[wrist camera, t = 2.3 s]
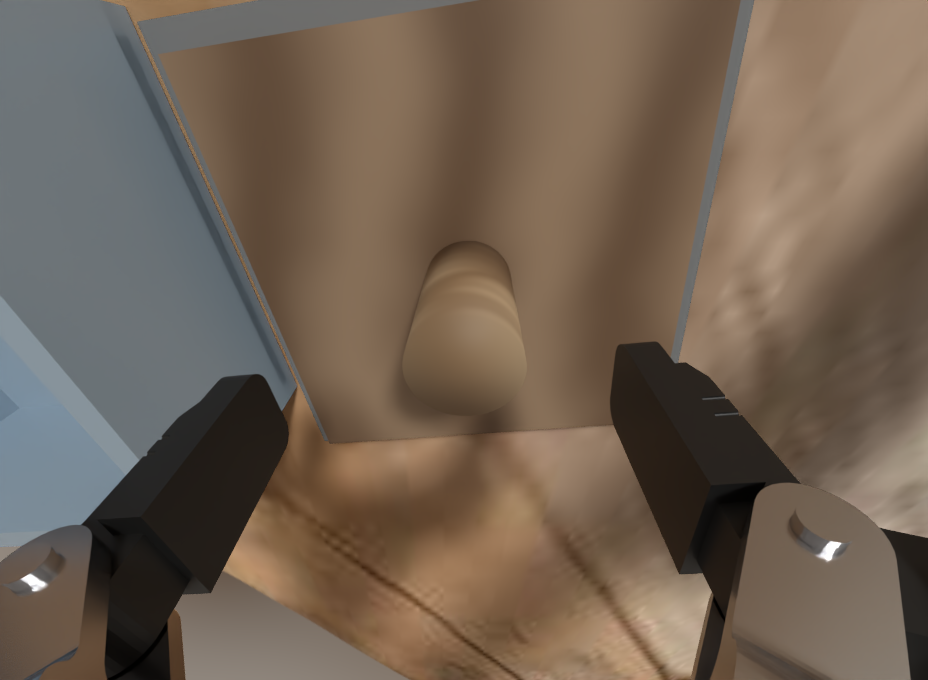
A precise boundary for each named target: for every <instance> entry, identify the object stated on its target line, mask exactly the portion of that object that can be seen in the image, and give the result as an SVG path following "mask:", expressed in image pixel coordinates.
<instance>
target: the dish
mask: <svg viewBox="0 0 928 680" xmlns="http://www.w3.org/2000/svg"><path fill="white" fill-rule="evenodd" d="M249 374H260V375H262V376H263V377H264V378H265V379H266V380H267V382H268V384H269V386H270V388H271V390H272V392H273V395H274V397H275V399H276V401H277V403H278V405H279V407H280V409H281V411H282V410H283V409H284V407H285V405H286V404H287V402H288V400H289V399H290V397H291V396H292V394H293V392H294V391H295V389H296V387H297V385H296V382H295V380H294V378H293V376H292V374H291V371H290V369H289V367H288V365H287V363H286V360H285V358H284V356H283V354H282V352H281V349H280V347H279V345H278V343H277V341H276V338H275V336H274V334H273V332H272V329H271V327H270V325H269V323H268V321H267V318H266V316H265V314H264V312H263V310H262V307H261V305H260V303H259V301H258V299H257V296H256V294H255V292H254V290H253V288H252V285H251V283H250V281H249V279H248V277H247V274H246V272H245V270H244V268H243V266H242V263H241V261H240V259H239V257H238V255H237V252H236V250H235V248H234V246H233V244H232V241H231V239H230V237H229V235H228V233H227V230H226V228H225V226H224V224H223V222H222V219H221V217H220V215H219V213H218V211H217V208H216V206H215V204H214V202H213V199H212V197H211V195H210V193H209V191H208V188H207V186H206V184H205V182H204V180H203V177H202V175H201V173H200V171H199V169H198V166H197V164H196V162H195V160H194V158H193V155H192V153H191V151H190V149H189V147H188V144H187V142H186V140H185V138H184V136H183V133H182V131H181V129H180V127H179V125H178V122H177V120H176V118H175V116H174V114H173V111H172V109H171V107H170V105H169V103H168V100H167V98H166V96H165V94H164V92H163V89H162V87H161V85H160V83H159V81H158V78H157V76H156V74H155V72H154V70H153V67H152V65H151V63H150V61H149V58H148V56H147V54H146V52H145V50H144V47H143V45H142V43H141V41H140V39H139V36H138V34H137V32H136V30H135V28H134V25H133V23H132V21H131V19H130V17H129V14H128V12H127V10H126V8H125V6H122V5H118V4H114V3H109V2H105V1H101V0H0V547H7V546H8V547H9V546H23V545H24V544H26V543H28V542H29V541H31V540H33V539H35V538H37V537H38V536H40V535H42V534H45V533H47V532H49V531H52V530H54V529H57V528H60V527H64V526H69V525H81V524H82V523H83V522H84V521H85V520H86V519H87V518H88V517H89V516H90V515H91V513H92V512H93V511H94V510H95V509H96V508H97V507H98V506H99V505H100V503H101V502H102V501H103V500H104V499H105V498H106V497H107V496H108V495H109V493H110V492H111V491H112V490H113V489H114V488H115V487H116V486H117V485H118V484H119V482H120V481H121V480H122V479H123V478H124V477H125V476H126V475H127V474H128V472H129V471H130V470H131V469H132V468H133V467H134V466H135V465H136V464H137V463H138V461H139V460H140V459H141V458H142V457H143V456H147V451H148V450H149V449H150V448H151V447H152V446H153V445H154V444H155V443H156V442H157V440H161V439H162V435H163V434H164V433H165V432H166V430H167V429H168V428H169V427H170V426H171V425H172V424H173V423H174V422H175V420H176V419H177V418H178V417H179V416H181V415H182V414H183V413H185V412H186V411H188V410H189V409H190V408H192V407H193V406H195V405H196V404H197V403H199V402H200V401H201V400H202V399H203V398H204V397H205V395H206V394H207V393H208V392H209V391H210V390H211V389H212V387H213V386H214V385H215V384H216V383H217V382H218V381H219V380H220V379H221V378H223V377H226V376H237V375H249Z"/></svg>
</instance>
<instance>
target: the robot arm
mask: <svg viewBox="0 0 928 680" xmlns="http://www.w3.org/2000/svg"><path fill="white" fill-rule="evenodd" d="M610 411H611V417H612V421H613V424H614V427H615V429H616V432H617V434H618V436H619V438H620V441H621V443H622V445H623V447H624V450H625V452H626V454H627V457H628V459H629V461H630V463H631V466H632V468H633V470H634V472H635V475H636V477H637V479H638V481H639V484H640V486H641V488H642V491H643V493H644V495H645V497H646V500H647V502H648V504H649V506H650V509H651V511H652V513H653V515H654V518H655V520H656V522H657V525H658V527H659V529H660V531H661V534H662V536H663V538H664V540H665V543H666V545H667V547H668V549H669V552H670V554H671V556H672V559H673V561H674V563H675V565H676V568H677V570H678V572H679V574H697V573H703V575H704V577H705V579H706V581H707V583H708V585H709V587H710V589H711V591H712V593H711V595H710V598H709V602H708V606H707V610H706V615H705V619H704V623H703V628H702V632H701V636H700V640H699V645H698V649H697V653H696V658H695V662H694V666H693V671H692V675H691V679H690V680H928V538H925V537H920V536H915V535H910V534H905V533H901V532H896V531H891V530H887V529H883V528H879V527H878V526H877V525H876V524H875V523H874V522H873V521H872V520H871V519H870V518H869V517H868V516H867V515H865V514H864V513H863V512H861V511H860V510H859V509H857V508H856V507H854V506H853V505H851V504H850V503H848V502H846V501H845V500H843V499H841V498H839V497H837V496H835V495H833V494H831V493H828V492H826V491H823V490H821V489H818V488H815V487H811V486H807V485H803V484H801V483H800V482H799V481H798V480H797V479H796V478H795V477H794V476H793V474H792V473H791V472H790V471H789V470H788V469H787V467H786V466H785V465H784V464H783V463H782V462H781V460H780V459H779V458H778V457H777V456H776V455H775V453H774V452H773V451H772V450H771V449H770V448H769V446H768V445H767V444H766V443H765V442H764V441H763V439H762V438H761V437H760V436H759V435H758V434H757V432H756V431H755V430H754V429H753V428H752V427H751V425H750V424H749V423H748V422H747V421H746V420H745V418H744V417H743V416H742V415H741V416H739V414H738V410H737V409H736V408H735V407H734V406H733V404H732V403H731V402H730V401H729V400H728V399H725V395H724V394H723V393H722V392H721V390H720V389H719V388H718V387H717V386H716V385H715V383H714V382H713V381H712V380H711V379H710V378H709V377H708V376H707V375H705V374H703V373H702V372H700V371H699V370H697V369H695V368H694V367H692V366H690V365H689V364H687V363H686V362H685V363H674V361H673V360H672V359H671V358H670V356H669V355H668V354H667V352H666V351H665V350H664V349H663V347H662V346H661V345H660V344H659V343H658V342H656V341H652V342H640V343H629V344H619V345H618V346H617V349H616V353H615V360H614V369H613V377H612V386H611V394H610ZM288 436H289V432H288V425H287V422H286V420H285V417H284V415H283V413H282V411H281V409H280V407H279V405H278V403H277V401H276V399H275V397H274V395H273V392H272V390H271V388H270V386H269V384H268V382H267V380H266V379H265V378H264V377H263V376H262V375H260V374H249V375H237V376H226V377H223V378H221V379H220V380H219V381H218V382H217V383H216V384H215V385H214V386H213V387H212V389H211V390H210V391H209V392H208V393H207V394H206V395H205V397H204V398H203V399H202V400H201V401H200V402H199V403H197V404H196V405H195V406H193V407H192V408H190V409H189V410H188V411H186V412H185V413H183V414H182V415H181V416H179V417H178V418H177V419H176V420H175V422H174V423H173V424H172V425H171V426H170V427H169V428H168V429H167V430H166V432H165V433H164V434H163V435H162V439H161V440H157V442H156V443H155V444H154V445H153V446H152V447H151V448H150V449H149V450H148V451H147V456H143V457H142V458H141V459H140V460H139V461H138V463H137V464H136V465H135V466H134V467H133V468H132V469H131V470H130V471H129V472H128V474H127V475H126V476H125V477H124V478H123V479H122V480H121V481H120V482H119V484H118V485H117V486H116V487H115V488H114V489H113V490H112V491H111V492H110V493H109V495H108V496H107V497H106V498H105V499H104V500H103V501H102V502H101V503H100V505H99V506H98V507H97V508H96V509H95V510H94V511H93V512H92V513H91V515H90V516H89V517H88V518H87V519H86V520H85V521H84V522H83V523H82V524H81V525H69V526H64V527H60V528H57V529H54V530H52V531H49V532H47V533H45V534H42V535H40V536H38V537H37V538H35V539H33V540H31V541H29V542H28V543H26V544H24V545H23V546H21V547H20V548H18V549H17V550H16V551H14V552H13V553H11V554H10V555H9V556H8V557H6V558H5V559H4V560H2V561H1V562H0V680H185V668H184V655H183V642H182V630H181V620H180V616H179V614H178V612H177V611H176V610H175V609H174V608H175V606H176V605H177V603H178V601H179V599H180V597H181V596H182V594H203V593H211V592H212V590H213V588H214V585H215V584H216V582H217V580H218V578H219V576H220V574H221V572H222V570H223V568H224V567H225V565H226V563H227V561H228V559H229V557H230V555H231V553H232V551H233V549H234V547H235V545H236V543H237V541H238V540H239V538H240V536H241V534H242V532H243V530H244V528H245V526H246V524H247V522H248V520H249V518H250V516H251V514H252V513H253V511H254V509H255V507H256V505H257V503H258V501H259V499H260V497H261V495H262V493H263V491H264V489H265V488H266V486H267V484H268V482H269V480H270V478H271V476H272V474H273V472H274V470H275V468H276V466H277V464H278V462H279V461H280V459H281V457H282V455H283V453H284V451H285V449H286V446H287V443H288Z"/></svg>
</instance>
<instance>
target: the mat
mask: <svg viewBox="0 0 928 680" xmlns="http://www.w3.org/2000/svg"><path fill="white" fill-rule="evenodd" d="M471 1H477V0H257V1H252V2H246V3H241V4H235V5H229V6H224V7H218V8H212V9H207V10H201V11H196V12H190V13H184V14H179V15H173V16H167V17H162V18H156V19H151V20H145V21H139V22H137V23H138V25H139V27H140V30H141V32H142V34H143V36H144V39H145V41H146V43H147V45H148V48H149V50H150V52H151V54H152V56H153V59H154V61H155V63H156V65H157V68H158V70H159V72H160V74H161V77H162V79H163V81H164V83H165V85H166V88H167V90H168V92H169V94H170V97H171V99H172V101H173V103H174V106H175V108H176V110H177V112H178V114H179V117H180V119H181V121H182V123H183V126H184V128H185V130H186V132H187V135H188V137H189V139H190V141H191V143H192V146H193V148H194V150H195V152H196V155H197V157H198V159H199V161H200V164H201V166H202V168H203V170H204V172H205V175H206V177H207V179H208V181H209V184H210V186H211V188H212V190H213V193H214V195H215V197H216V199H217V201H218V204H219V206H220V208H221V210H222V213H223V215H224V217H225V219H226V221H227V224H228V226H229V228H230V230H231V233H232V235H233V237H234V239H235V242H236V244H237V246H238V248H239V250H240V253H241V255H242V257H243V259H244V262H245V264H246V266H247V268H248V271H249V273H250V275H251V277H252V279H253V282H254V284H255V286H256V288H257V291H258V293H259V295H260V297H261V300H262V302H263V304H264V306H265V308H266V311H267V313H268V315H269V317H270V320H271V322H272V324H273V326H274V329H275V331H276V333H277V335H278V337H279V340H280V342H281V344H282V346H283V349H284V351H285V353H286V355H287V358H288V360H289V362H290V364H291V366H292V369H293V371H294V373H295V375H296V378H297V380H298V382H299V384H300V387H301V389H302V391H303V393H304V395H305V398H306V400H307V402H308V404H309V407H310V409H311V411H312V413H313V416H314V418H315V420H316V422H317V424H318V427H319V429H320V431H321V433H322V436H323V438H324V440H325V441H328V439H327V436H326V434H325V432H324V429H323V427H322V425H321V423H320V420H319V418H318V416H317V414H316V411H315V409H314V407H313V405H312V402H311V400H310V398H309V395H308V393H307V391H306V389H305V386H304V384H303V382H302V380H301V377H300V375H299V373H298V371H297V368H296V366H295V364H294V361H293V359H292V357H291V355H290V352H289V350H288V348H287V346H286V343H285V341H284V339H283V337H282V334H281V332H280V330H279V327H278V325H277V323H276V321H275V318H274V316H273V314H272V312H271V309H270V307H269V305H268V303H267V300H266V298H265V296H264V293H263V291H262V289H261V287H260V284H259V282H258V280H257V278H256V275H255V273H254V271H253V269H252V266H251V264H250V262H249V259H248V257H247V255H246V253H245V250H244V248H243V246H242V244H241V241H240V239H239V237H238V235H237V232H236V230H235V228H234V225H233V223H232V221H231V219H230V216H229V214H228V212H227V210H226V207H225V205H224V203H223V201H222V198H221V196H220V194H219V191H218V189H217V187H216V185H215V182H214V180H213V178H212V176H211V173H210V171H209V169H208V167H207V164H206V162H205V160H204V157H203V155H202V153H201V151H200V148H199V146H198V144H197V142H196V139H195V137H194V135H193V133H192V130H191V128H190V126H189V123H188V121H187V119H186V117H185V114H184V112H183V110H182V108H181V105H180V103H179V101H178V99H177V96H176V94H175V92H174V90H173V87H172V85H171V83H170V80H169V78H168V76H167V74H166V71H165V69H164V67H163V65H162V62H161V60H160V58H159V56H158V54H162V53H168V52H174V51H180V50H186V49H192V48H198V47H204V46H210V45H216V44H222V43H228V42H234V41H239V40H245V39H251V38H257V37H263V36H269V35H275V34H281V33H287V32H293V31H299V30H305V29H311V28H316V27H322V26H328V25H334V24H340V23H346V22H352V21H358V20H364V19H370V18H376V17H382V16H388V15H394V14H399V13H405V12H411V11H417V10H423V9H429V8H435V7H441V6H447V5H453V4H459V3H465V2H471ZM753 4H754V0H741V2H740V7H739V12H738V17H737V22H736V27H735V32H734V37H733V42H732V47H731V53H730V58H729V63H728V68H727V73H726V78H725V83H724V88H723V93H722V98H721V103H720V109H719V114H718V119H717V124H716V129H715V134H714V139H713V144H712V149H711V154H710V159H709V165H708V170H707V175H706V180H705V185H704V190H703V195H702V200H701V205H700V210H699V215H698V221H697V226H696V231H695V236H694V241H693V246H692V251H691V256H690V261H689V266H688V272H687V277H686V282H685V287H684V292H683V297H682V302H681V307H680V312H679V317H678V322H677V328H676V333H675V338H674V343H673V348H672V353H671V359H672V360H673V361H674V363H678V360H679V355H680V350H681V346H682V341H683V336H684V331H685V327H686V322H687V317H688V312H689V308H690V303H691V298H692V293H693V289H694V284H695V279H696V274H697V270H698V265H699V260H700V255H701V251H702V246H703V241H704V236H705V232H706V227H707V222H708V217H709V213H710V208H711V203H712V198H713V194H714V189H715V184H716V179H717V175H718V170H719V165H720V160H721V156H722V151H723V146H724V141H725V137H726V132H727V127H728V122H729V118H730V113H731V108H732V103H733V99H734V94H735V89H736V84H737V80H738V75H739V70H740V65H741V61H742V56H743V51H744V46H745V42H746V37H747V32H748V27H749V23H750V18H751V13H752V8H753Z"/></svg>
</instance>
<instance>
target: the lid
mask: <svg viewBox="0 0 928 680" xmlns="http://www.w3.org/2000/svg"><path fill="white" fill-rule="evenodd" d="M740 2H741V0H477V1H471V2H465V3H459V4H453V5H447V6H441V7H435V8H429V9H423V10H417V11H411V12H405V13H399V14H394V15H388V16H382V17H376V18H370V19H364V20H358V21H352V22H346V23H340V24H334V25H328V26H322V27H316V28H311V29H305V30H299V31H293V32H287V33H281V34H275V35H269V36H263V37H257V38H251V39H245V40H239V41H234V42H228V43H222V44H216V45H210V46H204V47H198V48H192V49H186V50H180V51H174V52H168V53H162V54H158V56H159V58H160V60H161V62H162V65H163V67H164V69H165V71H166V74H167V76H168V78H169V80H170V83H171V85H172V87H173V90H174V92H175V94H176V96H177V99H178V101H179V103H180V105H181V108H182V110H183V112H184V114H185V117H186V119H187V121H188V123H189V126H190V128H191V130H192V133H193V135H194V137H195V139H196V142H197V144H198V146H199V148H200V151H201V153H202V155H203V157H204V160H205V162H206V164H207V167H208V169H209V171H210V173H211V176H212V178H213V180H214V182H215V185H216V187H217V189H218V191H219V194H220V196H221V198H222V201H223V203H224V205H225V207H226V210H227V212H228V214H229V216H230V219H231V221H232V223H233V225H234V228H235V230H236V232H237V235H238V237H239V239H240V241H241V244H242V246H243V248H244V250H245V253H246V255H247V257H248V259H249V262H250V264H251V266H252V269H253V271H254V273H255V275H256V278H257V280H258V282H259V284H260V287H261V289H262V291H263V293H264V296H265V298H266V300H267V303H268V305H269V307H270V309H271V312H272V314H273V316H274V318H275V321H276V323H277V325H278V327H279V330H280V332H281V334H282V337H283V339H284V341H285V343H286V346H287V348H288V350H289V352H290V355H291V357H292V359H293V361H294V364H295V366H296V368H297V371H298V373H299V375H300V377H301V380H302V382H303V384H304V386H305V389H306V391H307V393H308V395H309V398H310V400H311V402H312V405H313V407H314V409H315V411H316V414H317V416H318V418H319V420H320V423H321V425H322V427H323V429H324V432H325V434H326V436H327V439H328V441H329V443H330V444H333V443H348V442H362V441H377V440H392V439H407V438H422V437H437V436H451V435H466V434H481V433H496V432H511V431H525V430H540V429H555V428H570V427H585V426H600V425H614V424H613V421H612V417H611V411H610V394H611V386H612V377H613V369H614V360H615V353H616V349H617V346H618V345H619V344H629V343H640V342H652V341H656V342H658V343H659V344H660V345H661V346H662V347H663V349H664V350H665V351H666V352H667V354H668V355H669V356H670V358H671V353H672V348H673V343H674V338H675V333H676V328H677V322H678V317H679V312H680V307H681V302H682V297H683V292H684V287H685V282H686V277H687V272H688V266H689V261H690V256H691V251H692V246H693V241H694V236H695V231H696V226H697V221H698V215H699V210H700V205H701V200H702V195H703V190H704V185H705V180H706V175H707V170H708V165H709V159H710V154H711V149H712V144H713V139H714V134H715V129H716V124H717V119H718V114H719V109H720V103H721V98H722V93H723V88H724V83H725V78H726V73H727V68H728V63H729V58H730V53H731V47H732V42H733V37H734V32H735V27H736V22H737V17H738V12H739V7H740Z"/></svg>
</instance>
